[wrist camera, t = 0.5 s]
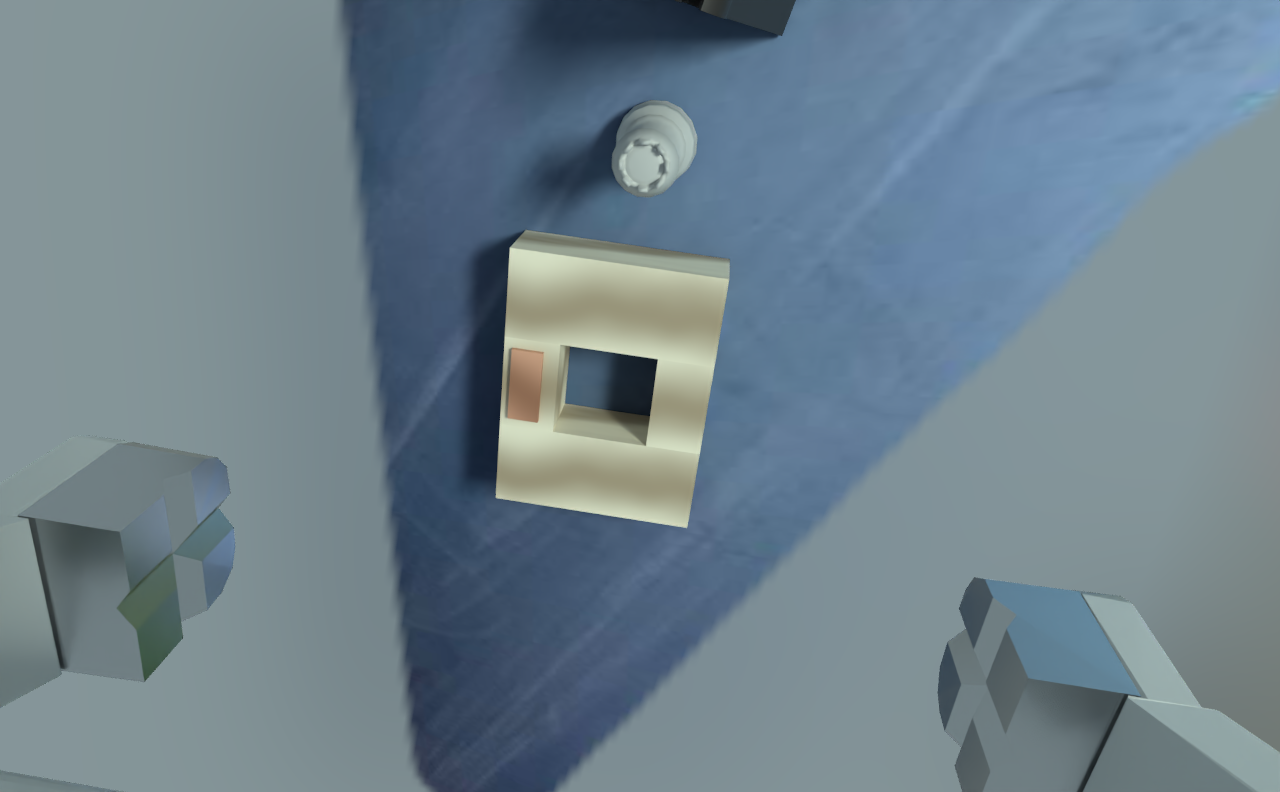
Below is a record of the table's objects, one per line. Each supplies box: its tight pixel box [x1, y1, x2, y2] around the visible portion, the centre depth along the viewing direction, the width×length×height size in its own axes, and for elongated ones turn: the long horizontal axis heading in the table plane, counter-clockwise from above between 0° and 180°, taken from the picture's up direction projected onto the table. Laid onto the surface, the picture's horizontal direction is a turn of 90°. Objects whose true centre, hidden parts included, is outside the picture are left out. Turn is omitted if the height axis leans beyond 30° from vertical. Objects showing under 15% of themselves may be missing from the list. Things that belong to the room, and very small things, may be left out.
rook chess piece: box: [612, 100, 697, 197], centre depth 44 cm, size 4×4×8 cm
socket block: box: [496, 230, 730, 528], centre depth 52 cm, size 16×12×4 cm
